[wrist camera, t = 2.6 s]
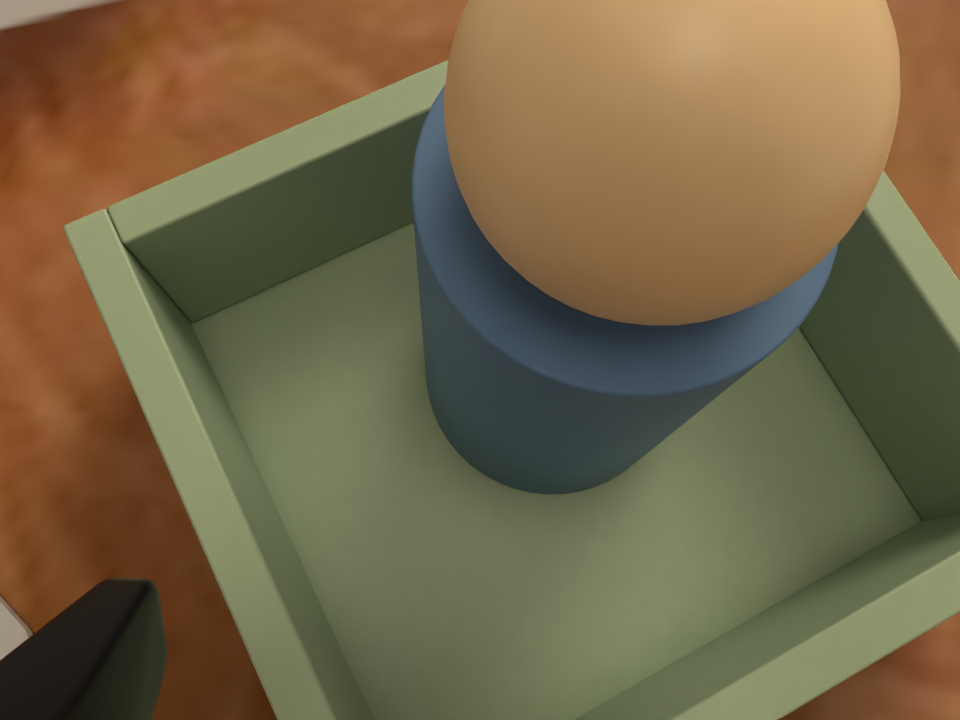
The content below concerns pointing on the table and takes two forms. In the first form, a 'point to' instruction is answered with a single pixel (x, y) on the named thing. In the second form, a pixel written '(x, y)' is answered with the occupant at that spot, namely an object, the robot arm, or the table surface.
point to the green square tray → (499, 508)
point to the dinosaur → (11, 629)
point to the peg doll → (633, 213)
